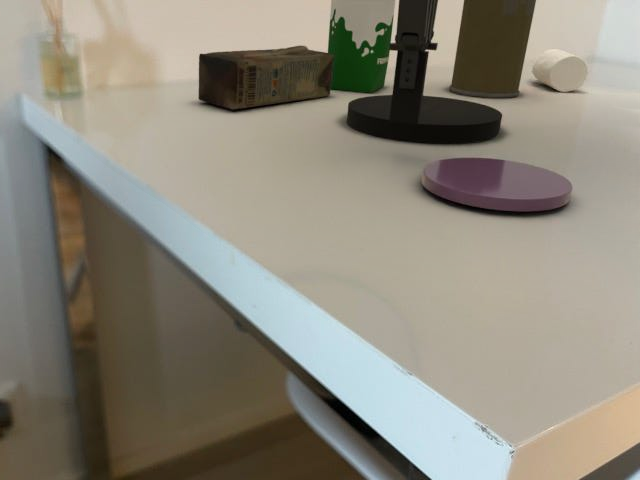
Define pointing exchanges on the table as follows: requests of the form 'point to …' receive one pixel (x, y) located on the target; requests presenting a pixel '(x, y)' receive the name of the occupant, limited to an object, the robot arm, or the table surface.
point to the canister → (492, 47)
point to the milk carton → (360, 43)
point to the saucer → (496, 184)
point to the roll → (560, 70)
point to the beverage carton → (264, 76)
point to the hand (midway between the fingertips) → (404, 121)
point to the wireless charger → (427, 120)
